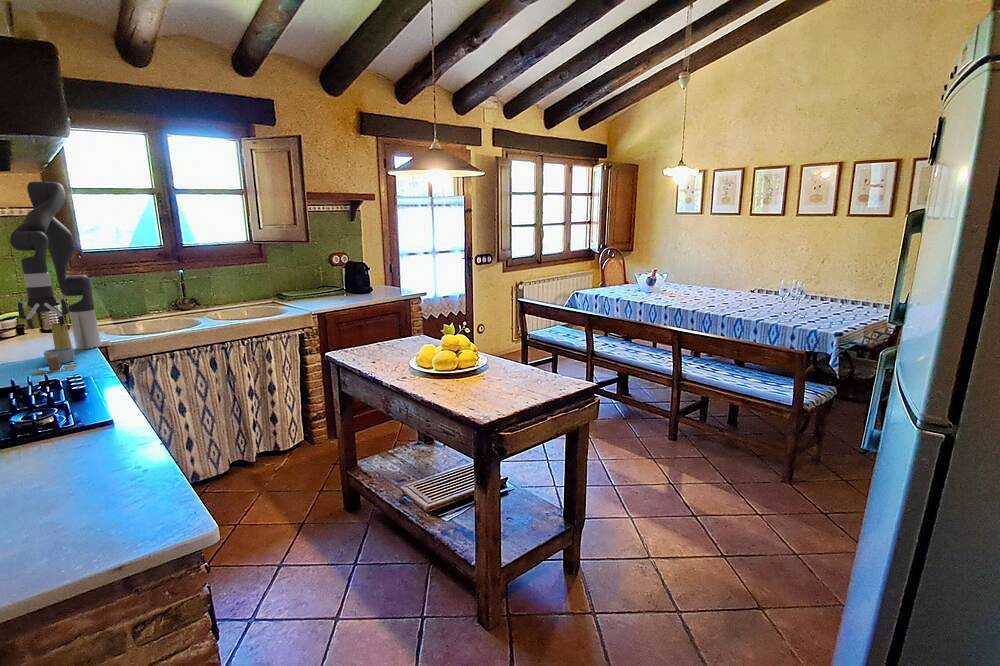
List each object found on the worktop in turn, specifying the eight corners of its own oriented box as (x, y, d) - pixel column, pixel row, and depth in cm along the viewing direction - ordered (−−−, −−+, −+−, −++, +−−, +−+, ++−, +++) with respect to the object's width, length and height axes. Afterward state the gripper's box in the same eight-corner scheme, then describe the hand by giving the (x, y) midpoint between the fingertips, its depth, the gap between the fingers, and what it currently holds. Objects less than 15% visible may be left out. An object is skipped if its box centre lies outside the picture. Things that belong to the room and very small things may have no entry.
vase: (63, 358, 220) (57, 325, 217) (52, 357, 221) (45, 324, 218) (77, 354, 226) (71, 322, 223) (66, 354, 227) (59, 322, 224)
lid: (38, 369, 205) (35, 355, 203) (78, 364, 211) (75, 350, 210) (32, 376, 194) (29, 361, 193) (74, 371, 201) (71, 356, 200)
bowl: (48, 361, 215) (46, 349, 214) (76, 357, 220) (74, 346, 219) (44, 366, 208) (42, 353, 207) (73, 362, 212) (71, 350, 211)
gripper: (64, 282, 203) (72, 323, 206) (15, 286, 195) (24, 328, 199) (61, 284, 197) (69, 326, 200) (11, 287, 189) (20, 331, 192)
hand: (47, 327), depth 199 cm, fingers open, 8 cm apart
